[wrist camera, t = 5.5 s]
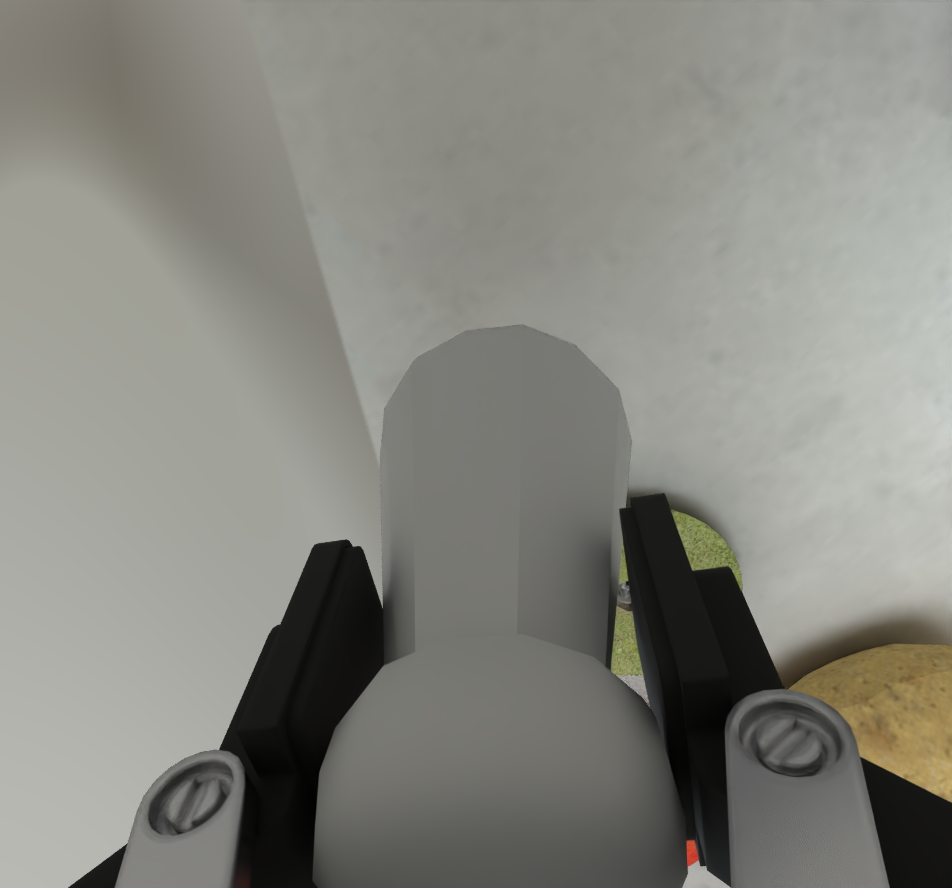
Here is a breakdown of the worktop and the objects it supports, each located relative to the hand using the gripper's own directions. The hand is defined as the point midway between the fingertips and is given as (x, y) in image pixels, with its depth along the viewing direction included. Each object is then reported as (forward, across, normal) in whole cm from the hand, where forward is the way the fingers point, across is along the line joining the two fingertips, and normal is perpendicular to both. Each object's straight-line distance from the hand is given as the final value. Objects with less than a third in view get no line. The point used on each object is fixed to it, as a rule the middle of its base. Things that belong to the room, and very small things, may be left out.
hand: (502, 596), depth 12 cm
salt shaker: (+8, 0, 0) cm, 8 cm away
